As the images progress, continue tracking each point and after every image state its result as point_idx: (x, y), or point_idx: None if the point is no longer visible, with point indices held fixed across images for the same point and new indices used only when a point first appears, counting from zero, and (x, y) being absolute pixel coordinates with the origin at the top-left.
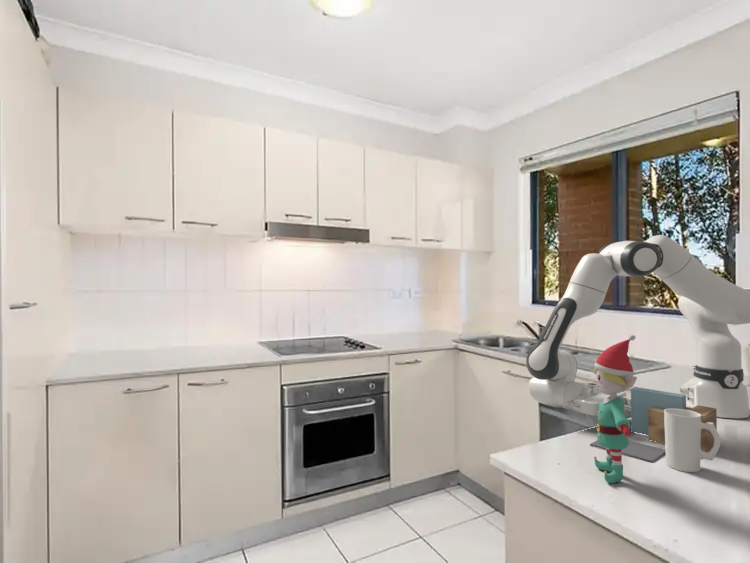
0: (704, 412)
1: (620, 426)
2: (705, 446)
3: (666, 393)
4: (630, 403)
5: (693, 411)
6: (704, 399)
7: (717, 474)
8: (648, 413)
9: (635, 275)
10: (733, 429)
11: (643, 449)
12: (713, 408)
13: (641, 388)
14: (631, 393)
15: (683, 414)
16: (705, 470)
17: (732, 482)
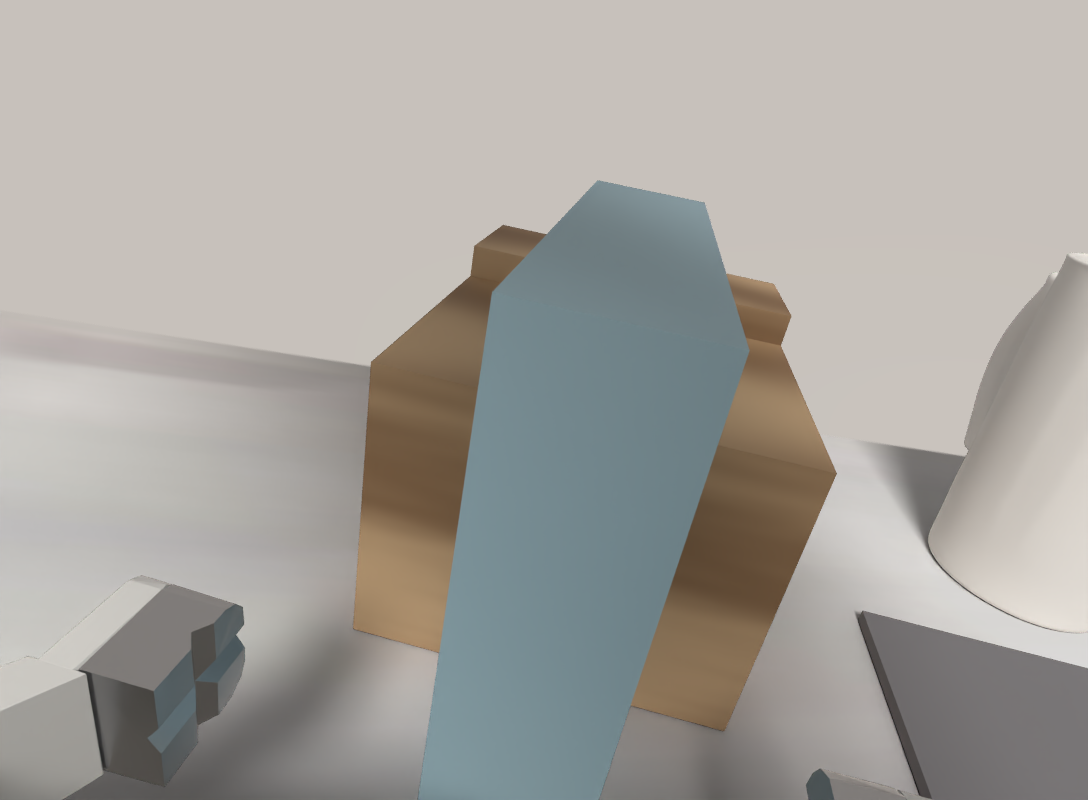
0: None
1: None
2: None
3: (660, 215)
4: (164, 724)
5: (1072, 255)
6: None
7: (930, 489)
8: (820, 509)
9: None
10: (102, 346)
11: (1044, 747)
12: (514, 230)
13: (577, 269)
14: (716, 445)
15: (1083, 302)
16: (936, 513)
17: (955, 469)
